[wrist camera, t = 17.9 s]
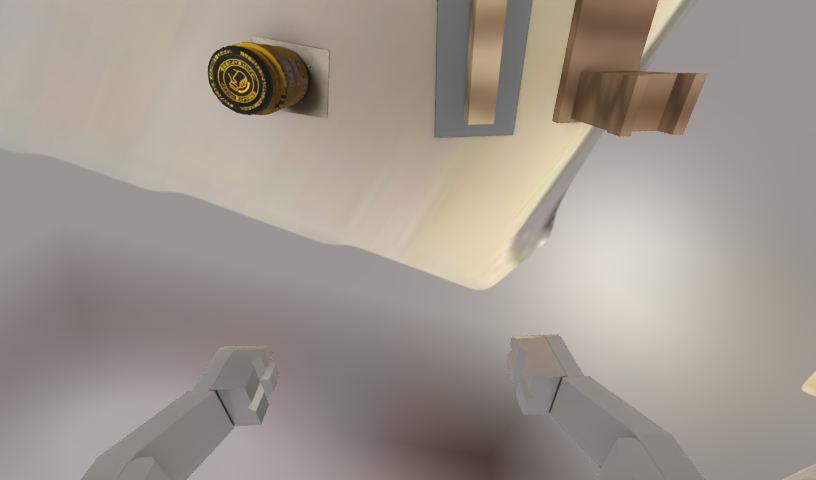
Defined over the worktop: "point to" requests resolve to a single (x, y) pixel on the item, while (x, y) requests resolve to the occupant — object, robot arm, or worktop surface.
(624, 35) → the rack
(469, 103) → the rail
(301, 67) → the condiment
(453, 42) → the mat
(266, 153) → the worktop surface
